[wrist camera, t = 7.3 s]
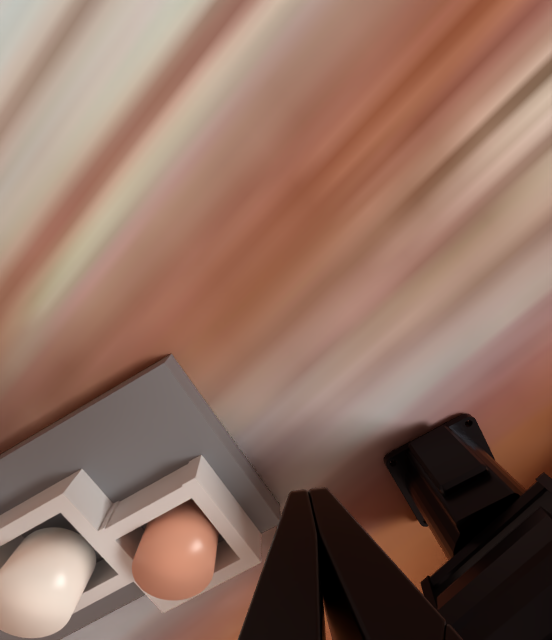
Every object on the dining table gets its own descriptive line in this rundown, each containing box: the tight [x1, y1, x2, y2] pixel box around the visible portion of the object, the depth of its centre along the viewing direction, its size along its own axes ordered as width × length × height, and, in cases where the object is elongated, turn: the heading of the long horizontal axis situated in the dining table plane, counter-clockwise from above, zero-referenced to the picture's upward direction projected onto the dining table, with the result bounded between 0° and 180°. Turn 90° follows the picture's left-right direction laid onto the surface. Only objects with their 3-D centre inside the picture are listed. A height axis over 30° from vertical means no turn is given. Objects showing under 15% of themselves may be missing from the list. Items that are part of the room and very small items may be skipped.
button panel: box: [0, 354, 281, 640], centre depth 21 cm, size 13×22×4 cm, turn 120°
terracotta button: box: [132, 499, 219, 600], centre depth 19 cm, size 4×4×3 cm
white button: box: [0, 527, 96, 638], centre depth 18 cm, size 4×4×3 cm
